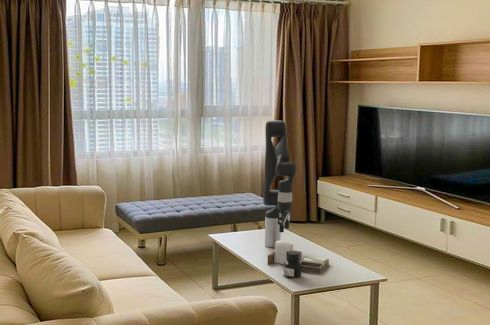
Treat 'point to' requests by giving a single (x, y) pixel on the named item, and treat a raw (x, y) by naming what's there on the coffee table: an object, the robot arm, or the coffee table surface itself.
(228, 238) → the coffee table surface
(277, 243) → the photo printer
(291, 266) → the ink bottle
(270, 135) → the robot arm
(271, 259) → the wooden cubby shelf
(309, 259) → the two-compartment wooden organizer
